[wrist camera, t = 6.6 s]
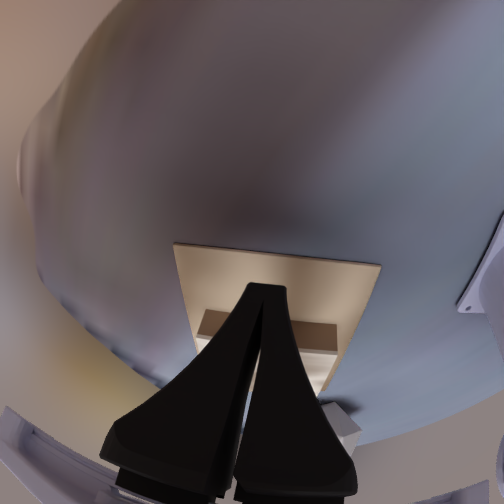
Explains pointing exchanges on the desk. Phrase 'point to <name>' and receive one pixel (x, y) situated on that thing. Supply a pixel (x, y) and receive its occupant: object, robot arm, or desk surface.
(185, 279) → the light wood board
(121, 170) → the desk surface
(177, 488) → the robot arm
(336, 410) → the die
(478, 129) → the desk surface
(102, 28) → the desk surface
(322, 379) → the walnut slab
